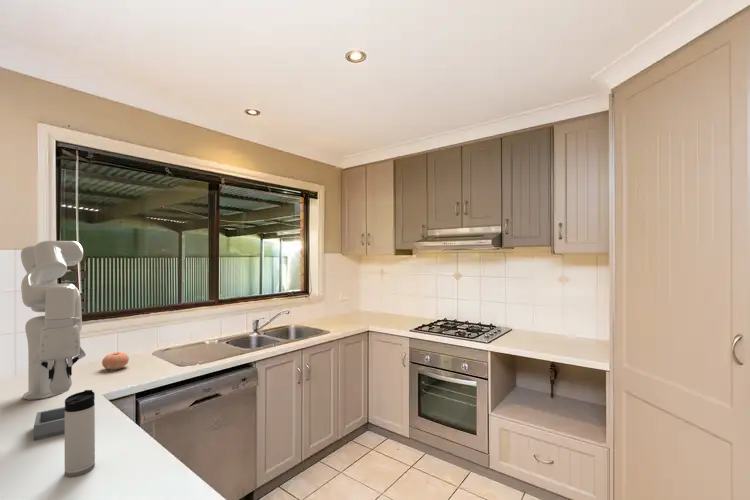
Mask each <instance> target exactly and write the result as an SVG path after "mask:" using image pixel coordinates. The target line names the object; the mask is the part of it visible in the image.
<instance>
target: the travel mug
mask: <svg viewBox="0 0 750 500" xmlns="http://www.w3.org/2000/svg"><path fill="white" fill-rule="evenodd" d="M95 399H96V397H95V392H94V391H93V389H85V390H83V391H81V392H77V393H74V394H71V395H69V396H68V397H66V398H65V400H64V407H65V433H64V476H65V477H70V478H73V477H74V478H75V477H79V476H82V475H85V474H87V473H89V472H90V471H92V470H93V469H94V468H95V466H96V460H95V459H96V455H95V452H96V447H95V446H96V440H95V439H96V435H95V434H96V433H95V432H96V426H95V425H96V414H95V413H96V411H95V410H96V404H95V403H96V402H95Z"/></svg>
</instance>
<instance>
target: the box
mask: <svg viewBox="0 0 750 500" xmlns="http://www.w3.org/2000/svg"><path fill="white" fill-rule="evenodd" d="M59 435H65V406H63V407H59V408H58V407H57V408H52V409H48V410H43V411H38V412H36V416H35V421H34V424H33V441H39V440H42V439H46V438H51V437H55V436H59Z"/></svg>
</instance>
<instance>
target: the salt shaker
mask: <svg viewBox="0 0 750 500" xmlns="http://www.w3.org/2000/svg"><path fill="white" fill-rule="evenodd" d="M67 365H68V361H67V358H64V357H63V356H59V357H57V359H54V364H53V367H54V375H53V380H52V382H51V379H50V384H49V389H50V391H51V392H52V394H58V395H60V394H64V393H67V392H68V391H70V388H71V387H72V383H73V381H72V377H71V376H72V375H71V376H70V375H69V378H68V376H67V371H66V368H67Z"/></svg>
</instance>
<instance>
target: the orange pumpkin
mask: <svg viewBox="0 0 750 500" xmlns="http://www.w3.org/2000/svg"><path fill="white" fill-rule="evenodd" d="M129 360H130V358H129V355H128V354H127V353H125V352H121V351H120V352H119V351H117V352H112V353H108V354H107V355H106V356H104V357H103V358H102V360H101V364H102V367H103V368H104V369H106V370H108V371H115V370H120V369H122V368H124V367H126V365H128V363H129Z"/></svg>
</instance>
